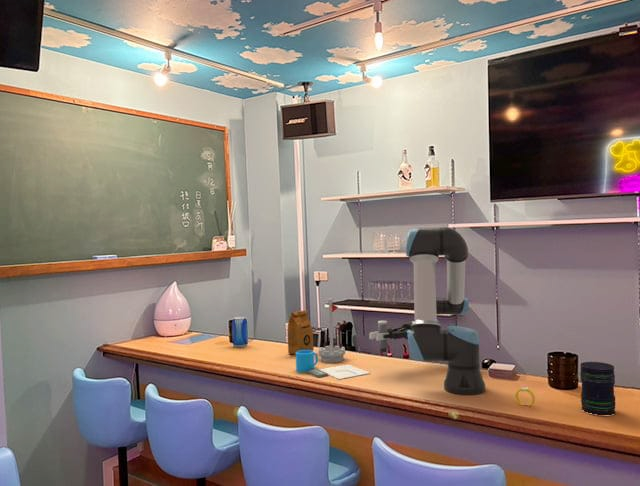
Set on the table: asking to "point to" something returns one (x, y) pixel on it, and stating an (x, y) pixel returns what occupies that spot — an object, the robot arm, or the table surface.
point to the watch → (527, 391)
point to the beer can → (240, 332)
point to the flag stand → (331, 341)
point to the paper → (344, 372)
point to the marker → (382, 329)
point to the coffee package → (299, 332)
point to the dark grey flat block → (317, 373)
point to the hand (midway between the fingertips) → (373, 336)
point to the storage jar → (597, 388)
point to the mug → (305, 360)
